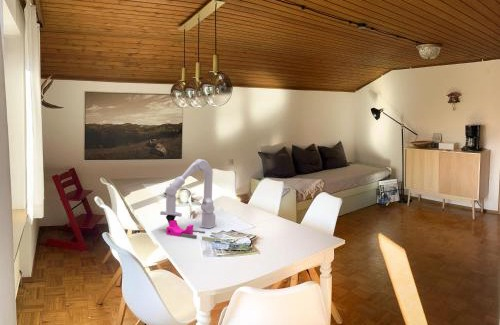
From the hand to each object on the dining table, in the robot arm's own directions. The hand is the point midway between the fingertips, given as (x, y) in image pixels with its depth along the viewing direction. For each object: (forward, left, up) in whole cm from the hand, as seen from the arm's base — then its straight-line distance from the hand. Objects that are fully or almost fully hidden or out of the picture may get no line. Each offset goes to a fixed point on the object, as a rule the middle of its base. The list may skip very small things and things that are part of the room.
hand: (170, 227), depth 241 cm
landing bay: (0, +32, -4) cm, 32 cm away
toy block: (+3, +8, -4) cm, 9 cm away
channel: (0, +16, -4) cm, 16 cm away
